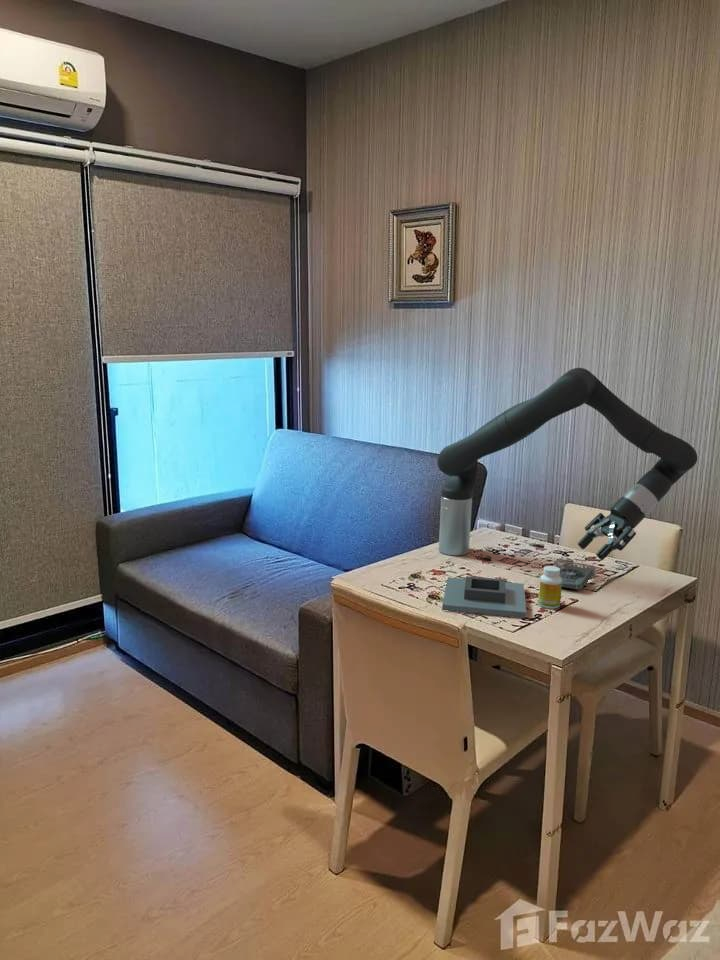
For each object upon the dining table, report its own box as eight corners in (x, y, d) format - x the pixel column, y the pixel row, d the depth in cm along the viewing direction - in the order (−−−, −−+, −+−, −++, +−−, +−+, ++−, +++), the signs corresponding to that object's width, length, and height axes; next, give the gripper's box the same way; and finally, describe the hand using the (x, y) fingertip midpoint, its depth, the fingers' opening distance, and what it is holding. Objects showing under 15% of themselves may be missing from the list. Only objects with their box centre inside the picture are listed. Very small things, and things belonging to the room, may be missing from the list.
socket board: (447, 582, 201) (448, 568, 200) (523, 589, 197) (524, 574, 196) (442, 610, 181) (442, 595, 181) (525, 618, 178) (527, 602, 177)
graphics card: (554, 558, 214) (597, 564, 208) (554, 570, 215) (596, 577, 209) (537, 575, 200) (582, 583, 194) (536, 588, 201) (581, 596, 195)
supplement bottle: (560, 610, 184) (564, 572, 181) (538, 608, 184) (541, 570, 182) (559, 602, 189) (562, 565, 187) (537, 600, 190) (540, 563, 188)
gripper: (609, 489, 192) (565, 534, 192) (643, 503, 179) (596, 551, 178) (625, 508, 195) (582, 552, 194) (660, 523, 181) (613, 571, 181)
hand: (589, 552), depth 186 cm, fingers open, 8 cm apart
